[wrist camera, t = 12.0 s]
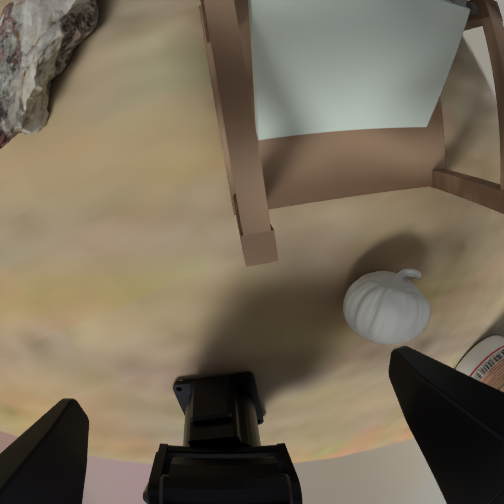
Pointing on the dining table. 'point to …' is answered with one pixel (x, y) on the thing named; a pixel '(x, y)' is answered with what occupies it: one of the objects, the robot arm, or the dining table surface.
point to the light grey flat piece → (350, 62)
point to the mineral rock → (36, 57)
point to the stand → (326, 139)
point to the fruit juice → (486, 362)
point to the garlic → (386, 307)
